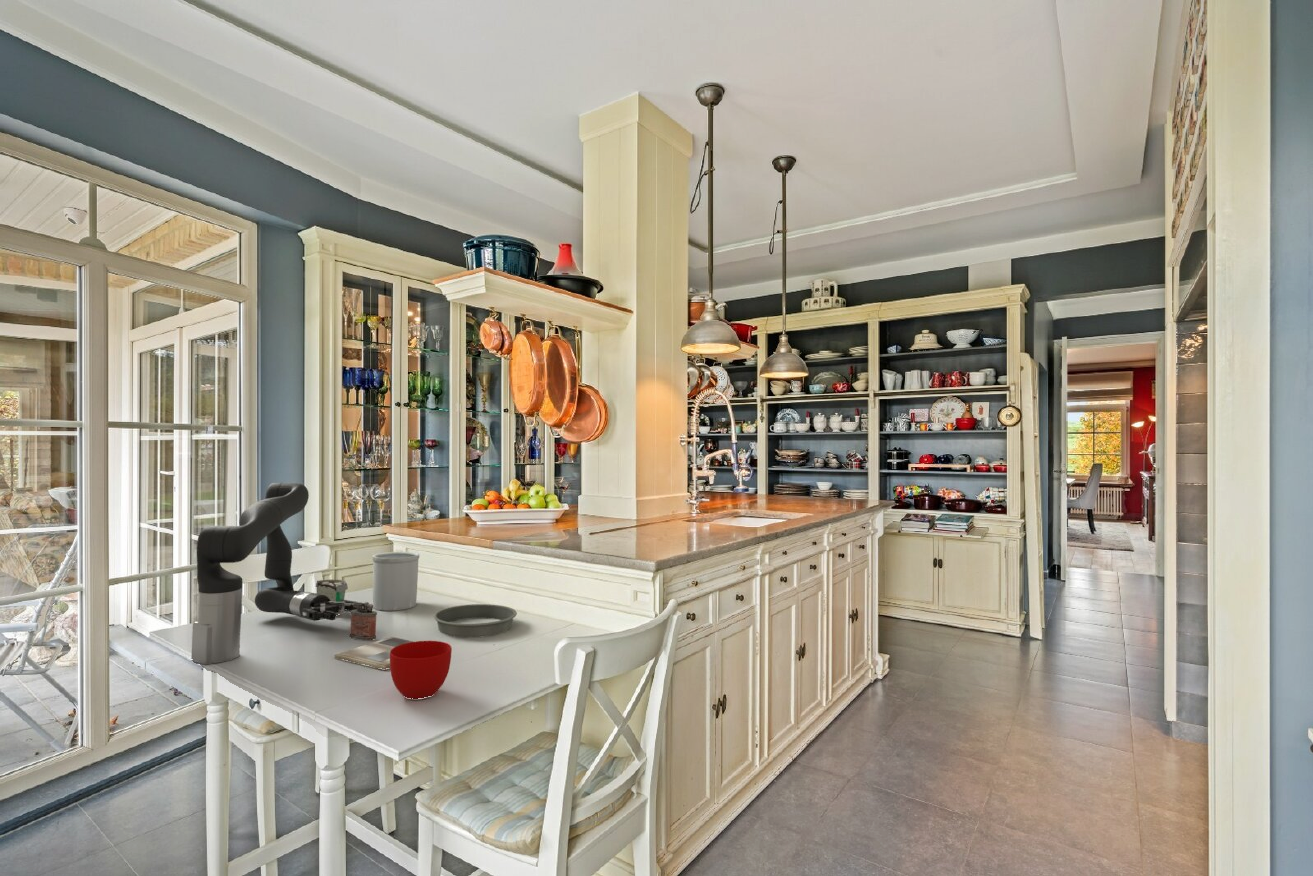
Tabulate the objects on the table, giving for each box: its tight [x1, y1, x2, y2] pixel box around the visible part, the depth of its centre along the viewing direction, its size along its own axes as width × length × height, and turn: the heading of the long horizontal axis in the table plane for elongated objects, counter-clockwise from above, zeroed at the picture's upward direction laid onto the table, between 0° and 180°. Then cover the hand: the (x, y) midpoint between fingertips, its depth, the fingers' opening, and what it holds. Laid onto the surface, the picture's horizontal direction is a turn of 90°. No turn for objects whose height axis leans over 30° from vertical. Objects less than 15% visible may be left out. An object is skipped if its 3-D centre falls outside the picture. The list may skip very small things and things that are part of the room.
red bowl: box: [389, 640, 453, 699], centre depth 144 cm, size 13×17×10 cm
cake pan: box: [432, 603, 518, 638], centre depth 195 cm, size 25×25×4 cm
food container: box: [315, 579, 349, 615], centre depth 207 cm, size 12×6×10 cm, turn 58°
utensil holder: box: [371, 551, 420, 612], centre depth 217 cm, size 15×15×18 cm
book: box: [334, 636, 414, 669], centre depth 168 cm, size 18×18×1 cm
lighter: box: [349, 601, 378, 641], centre depth 181 cm, size 8×3×10 cm, turn 74°
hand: (347, 613), depth 184 cm, fingers open, 8 cm apart
